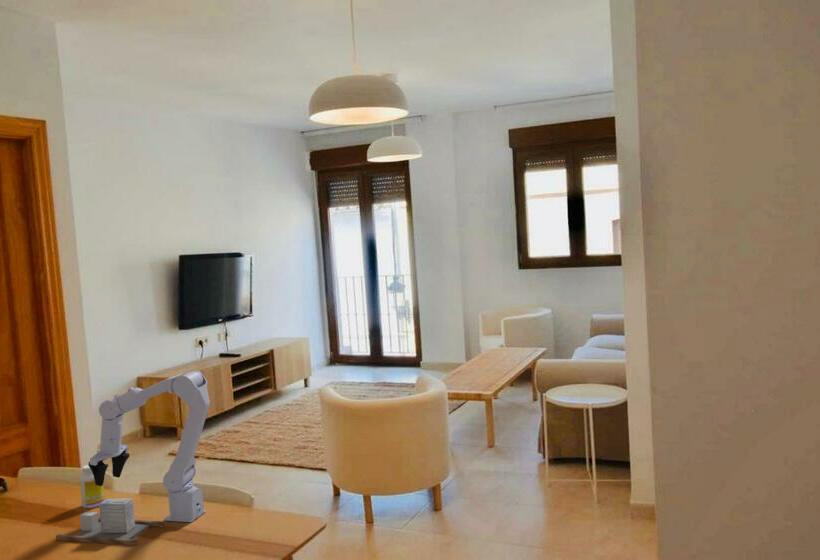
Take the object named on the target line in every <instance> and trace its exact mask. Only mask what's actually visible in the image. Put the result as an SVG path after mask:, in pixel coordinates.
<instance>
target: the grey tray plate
mask: <svg viewBox="0 0 820 560" xmlns="http://www.w3.org/2000/svg"><path fill="white" fill-rule="evenodd" d="M98 518H99V513H98V512H97V511H85V512H83V513H81V514H79V520H80V521H79V523H80V531H79V532H78V533H76V534H75V535H76V536H92V537H107V538H123V539H136V537H138V536H139V535H142V533H144V532H145V531H146V529H147V528H148V529H150V526H149V525H141V524H135V527H134V528H132V529H131V530H130V531H129V532H128V533H102V532H101V522H98ZM148 529H147V530H148ZM143 531H144V532H143Z"/></svg>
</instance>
